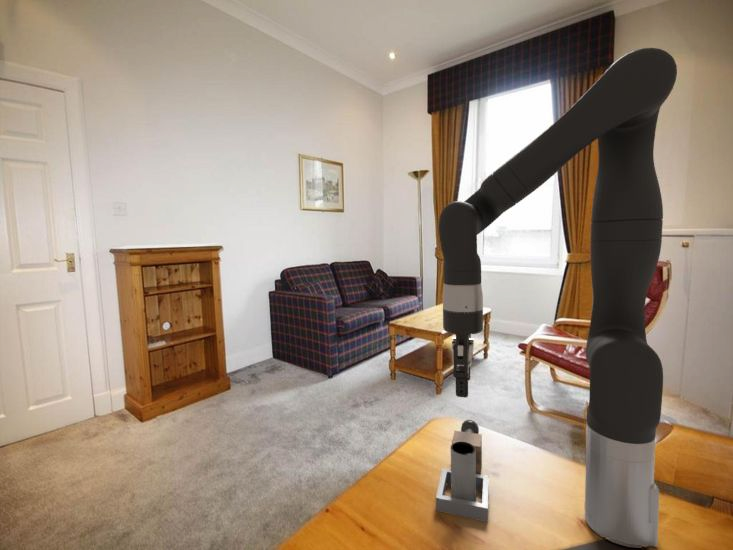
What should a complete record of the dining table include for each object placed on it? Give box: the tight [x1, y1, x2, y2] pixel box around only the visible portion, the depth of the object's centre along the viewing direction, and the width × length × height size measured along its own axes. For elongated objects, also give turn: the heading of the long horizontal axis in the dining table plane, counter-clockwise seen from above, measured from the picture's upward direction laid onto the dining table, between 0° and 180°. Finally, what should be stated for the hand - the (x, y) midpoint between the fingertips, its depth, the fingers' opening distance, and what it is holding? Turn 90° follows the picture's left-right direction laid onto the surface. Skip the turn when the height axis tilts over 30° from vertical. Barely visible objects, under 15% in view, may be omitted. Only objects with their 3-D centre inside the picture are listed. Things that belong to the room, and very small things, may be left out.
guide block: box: [451, 430, 483, 475], centre depth 76 cm, size 6×5×7 cm
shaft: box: [460, 419, 480, 434], centre depth 81 cm, size 4×10×4 cm, turn 160°
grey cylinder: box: [450, 441, 477, 502], centre depth 67 cm, size 4×4×10 cm
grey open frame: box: [435, 467, 490, 523], centre depth 67 cm, size 9×9×2 cm
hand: (463, 387), depth 70 cm, fingers open, 8 cm apart
